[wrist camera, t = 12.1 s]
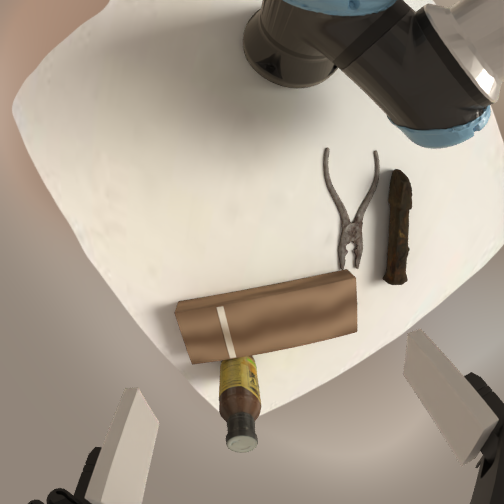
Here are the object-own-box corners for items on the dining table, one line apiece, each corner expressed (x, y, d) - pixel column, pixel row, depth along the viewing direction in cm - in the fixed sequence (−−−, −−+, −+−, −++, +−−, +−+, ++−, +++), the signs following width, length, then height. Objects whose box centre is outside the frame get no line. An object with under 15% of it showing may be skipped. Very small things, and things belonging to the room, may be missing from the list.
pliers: (375, 140, 41) (392, 258, 47) (373, 140, 42) (389, 257, 48) (319, 149, 41) (341, 273, 47) (318, 149, 42) (339, 271, 48)
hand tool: (398, 277, 49) (411, 286, 44) (380, 279, 49) (392, 289, 44) (405, 170, 44) (421, 171, 39) (386, 169, 43) (400, 170, 39)
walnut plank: (178, 301, 47) (174, 313, 43) (346, 269, 47) (356, 278, 43) (194, 350, 50) (192, 364, 46) (349, 320, 50) (357, 332, 46)
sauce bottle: (255, 373, 52) (265, 458, 33) (221, 373, 52) (219, 459, 33) (255, 345, 50) (267, 431, 31) (219, 346, 50) (215, 433, 31)
